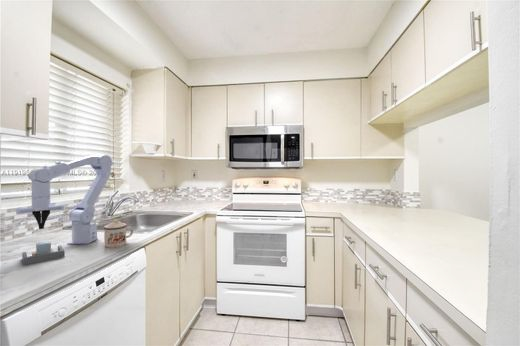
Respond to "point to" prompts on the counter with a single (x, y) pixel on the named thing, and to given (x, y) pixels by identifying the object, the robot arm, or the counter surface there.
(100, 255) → the counter surface
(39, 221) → the robot arm
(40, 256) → the dock
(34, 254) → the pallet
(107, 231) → the teacup with lid
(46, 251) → the pale blue cube
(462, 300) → the counter surface
